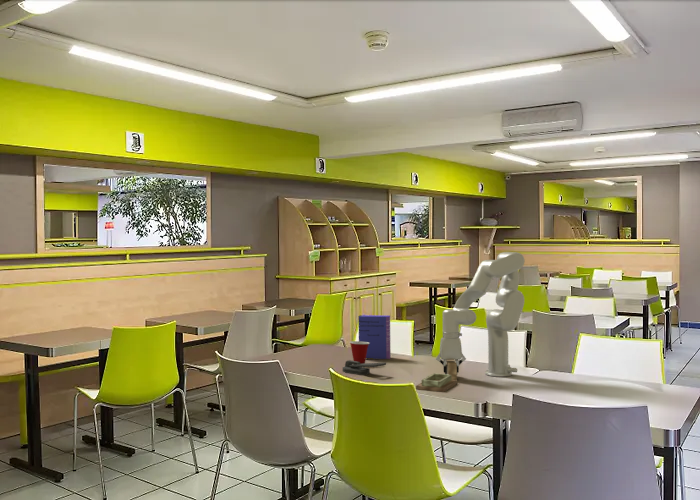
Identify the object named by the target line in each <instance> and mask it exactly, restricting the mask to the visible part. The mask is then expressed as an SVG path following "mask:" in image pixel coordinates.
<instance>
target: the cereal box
mask: <svg viewBox="0 0 700 500" xmlns="http://www.w3.org/2000/svg"><path fill="white" fill-rule="evenodd" d="M358 341H361V342H369V343H370V344H369V345H368V349H367V355H366V358H373V359H372V360H390V359H391V355H392V354H391V353H392V352H391V315H373V314H371V315H370V314H369V315H365V314H364V315H363V314H362V315H358Z"/></svg>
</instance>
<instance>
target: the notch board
mask: <svg viewBox="0 0 700 500" xmlns="http://www.w3.org/2000/svg"><path fill="white" fill-rule="evenodd" d="M457 384H458V380H452V375H447V374H445V373H434V372H433V373H432V374H430V375H428V376H426V377H425V378H423V379H421V382H420V383H418V384H416V385H415V390H420V391H430V392H442V393H445V392H447V391H448V390H450V389H451V388H453V387H455V386H456V385H457Z"/></svg>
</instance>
